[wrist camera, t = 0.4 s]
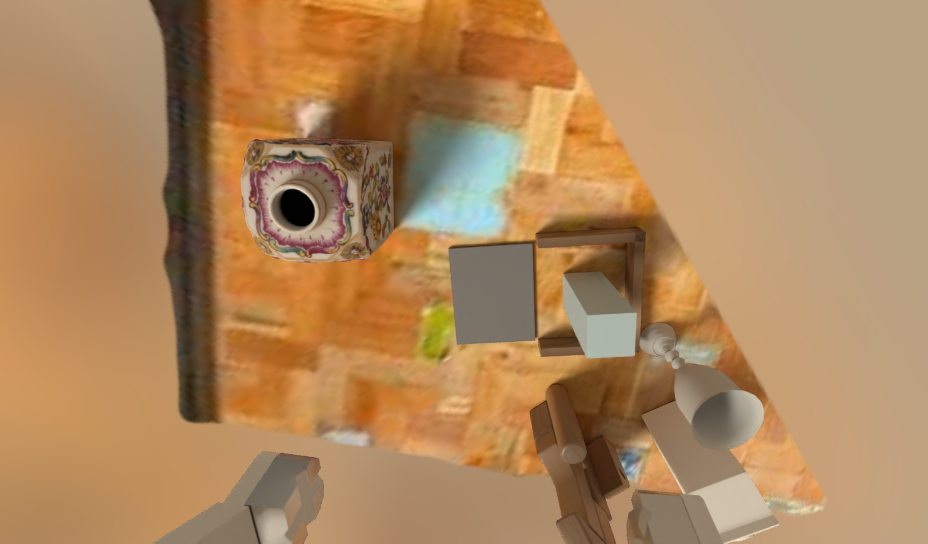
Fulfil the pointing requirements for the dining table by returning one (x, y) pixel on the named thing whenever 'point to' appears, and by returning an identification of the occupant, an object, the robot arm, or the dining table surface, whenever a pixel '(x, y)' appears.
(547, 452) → the wooden toy
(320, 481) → the robot arm
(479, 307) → the dark grey flat plate
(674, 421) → the milk carton
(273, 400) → the dining table surface
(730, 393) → the chalice
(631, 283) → the wooden rectangular frame
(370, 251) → the decorative jar
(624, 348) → the block
